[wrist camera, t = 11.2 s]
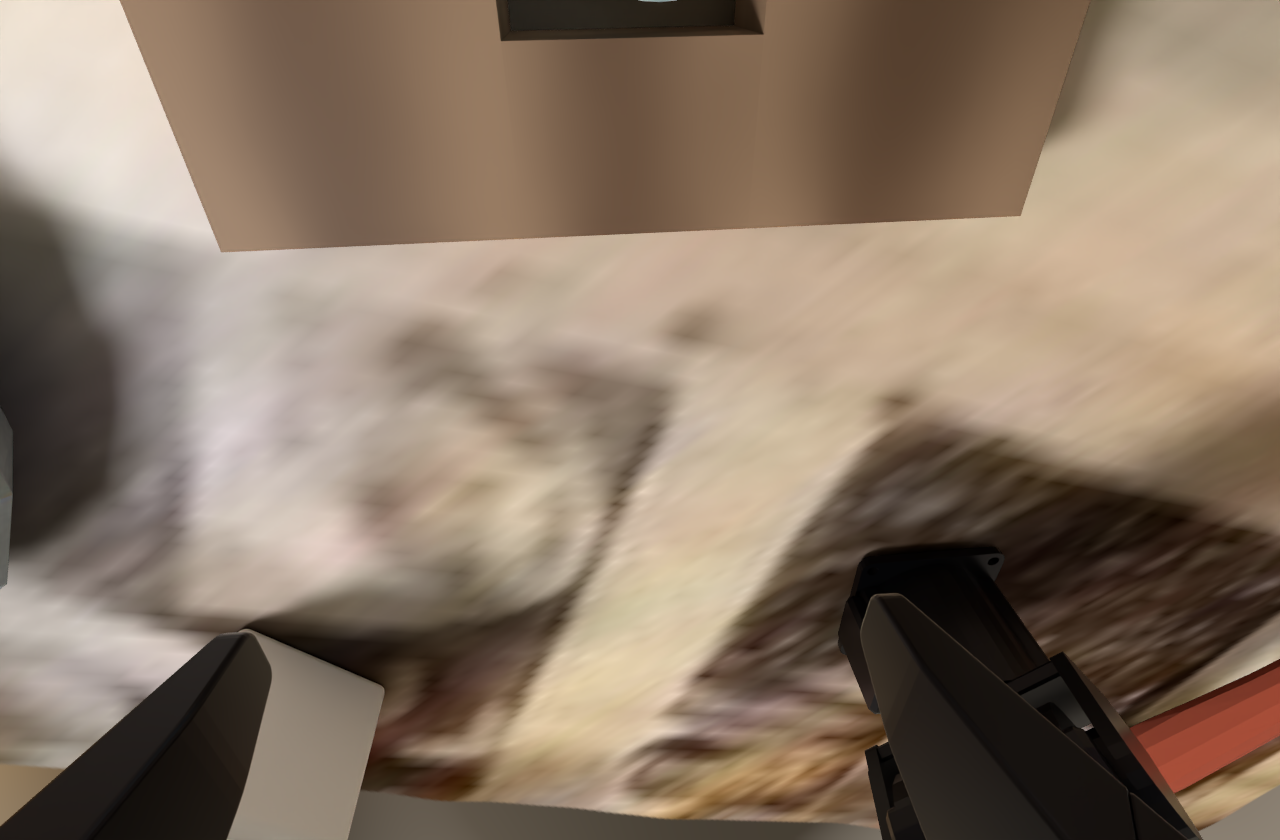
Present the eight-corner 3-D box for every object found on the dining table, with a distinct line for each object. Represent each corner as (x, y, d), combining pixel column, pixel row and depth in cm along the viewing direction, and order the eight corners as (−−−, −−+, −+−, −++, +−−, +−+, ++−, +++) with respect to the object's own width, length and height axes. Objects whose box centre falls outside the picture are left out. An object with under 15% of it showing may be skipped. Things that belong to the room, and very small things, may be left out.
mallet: (1094, 905, 40) (1779, 699, 20) (1046, 906, 39) (1706, 693, 19) (1012, 726, 47) (1445, 449, 27) (971, 724, 47) (1384, 439, 27)
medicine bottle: (163, 698, 29) (-40, 1059, 20) (244, 622, 27) (60, 990, 17) (306, 748, 33) (194, 1078, 23) (389, 685, 30) (304, 1023, 21)
